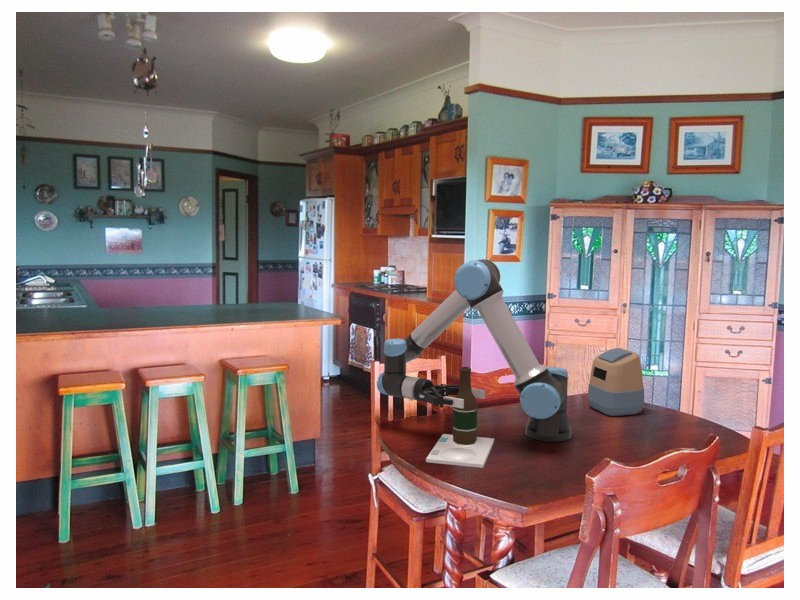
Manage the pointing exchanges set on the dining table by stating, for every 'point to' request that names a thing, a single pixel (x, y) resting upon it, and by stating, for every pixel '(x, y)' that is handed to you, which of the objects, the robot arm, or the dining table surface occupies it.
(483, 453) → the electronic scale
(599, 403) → the tan tapered boxy piece
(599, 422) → the dining table surface
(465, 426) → the beer bottle
